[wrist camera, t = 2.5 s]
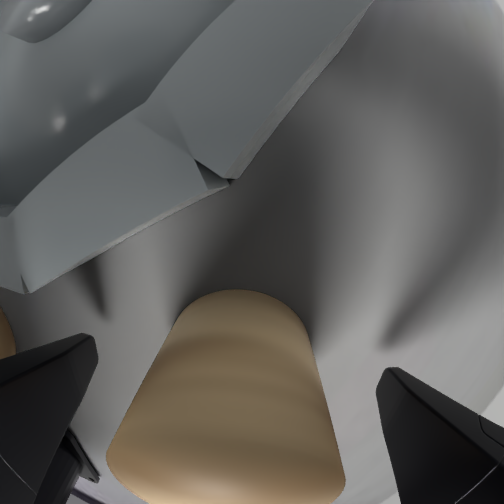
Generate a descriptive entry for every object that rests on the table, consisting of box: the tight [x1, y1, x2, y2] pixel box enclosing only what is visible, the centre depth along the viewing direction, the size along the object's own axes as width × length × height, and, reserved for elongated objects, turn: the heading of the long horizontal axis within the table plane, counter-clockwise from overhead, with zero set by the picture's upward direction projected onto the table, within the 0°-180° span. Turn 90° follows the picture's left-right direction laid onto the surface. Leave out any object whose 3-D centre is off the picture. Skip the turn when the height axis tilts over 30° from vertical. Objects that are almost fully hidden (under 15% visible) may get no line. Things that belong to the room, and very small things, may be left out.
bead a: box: [106, 289, 346, 504], centre depth 6 cm, size 4×4×5 cm
